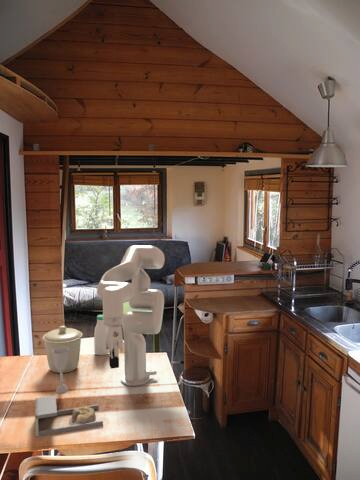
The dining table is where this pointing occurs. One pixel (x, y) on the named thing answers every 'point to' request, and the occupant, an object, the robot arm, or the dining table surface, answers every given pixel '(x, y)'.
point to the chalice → (61, 365)
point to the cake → (83, 415)
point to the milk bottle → (100, 337)
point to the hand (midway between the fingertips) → (114, 366)
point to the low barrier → (49, 408)
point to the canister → (63, 339)
